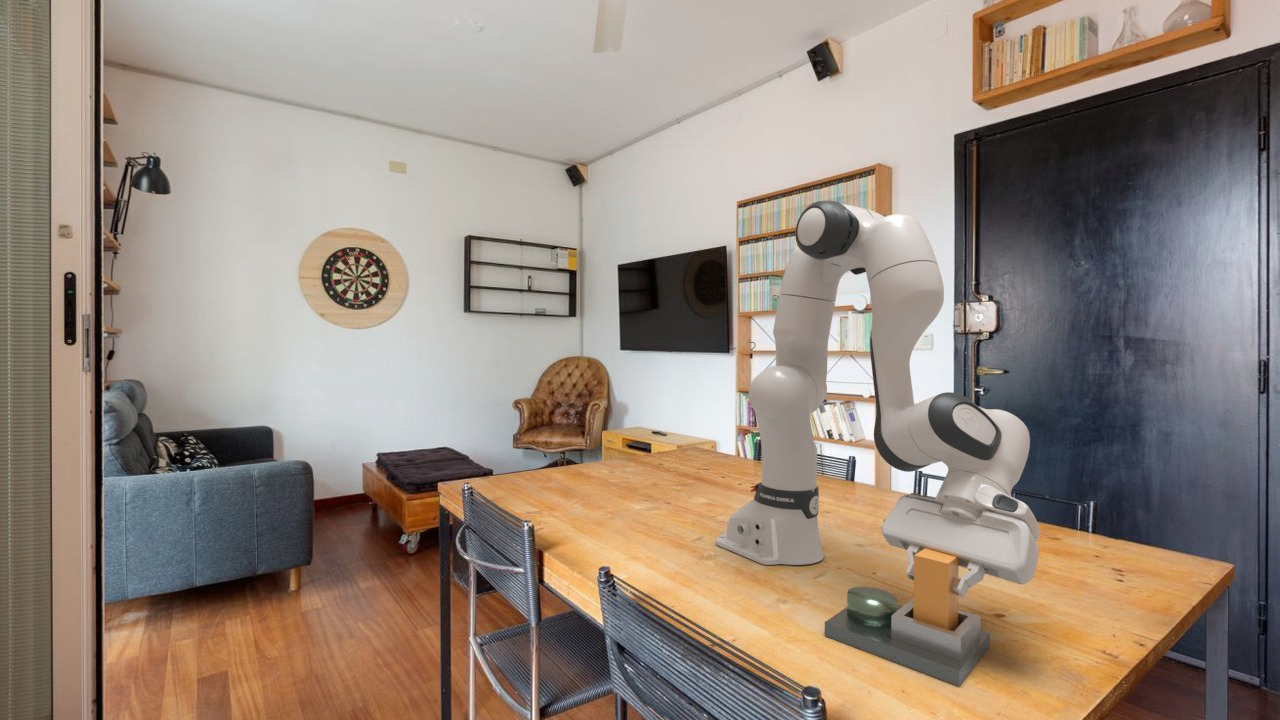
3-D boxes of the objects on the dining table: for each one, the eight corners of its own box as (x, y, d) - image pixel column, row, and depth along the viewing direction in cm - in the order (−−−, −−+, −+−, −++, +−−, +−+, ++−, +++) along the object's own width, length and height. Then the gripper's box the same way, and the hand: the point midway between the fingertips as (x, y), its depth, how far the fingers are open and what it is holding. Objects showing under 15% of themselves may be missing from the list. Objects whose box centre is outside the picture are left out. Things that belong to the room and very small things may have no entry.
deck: (824, 635, 85) (824, 601, 85) (865, 606, 95) (865, 576, 95) (958, 686, 72) (959, 646, 72) (989, 646, 82) (990, 611, 82)
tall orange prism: (913, 626, 81) (914, 555, 80) (924, 616, 84) (925, 547, 84) (947, 637, 77) (948, 563, 77) (957, 626, 81) (958, 555, 80)
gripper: (895, 479, 93) (858, 551, 87) (1041, 508, 76) (1006, 599, 71) (910, 502, 95) (875, 574, 90) (1054, 535, 79) (1021, 626, 73)
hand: (933, 585), depth 80 cm, fingers closed on tall orange prism, 5 cm apart
